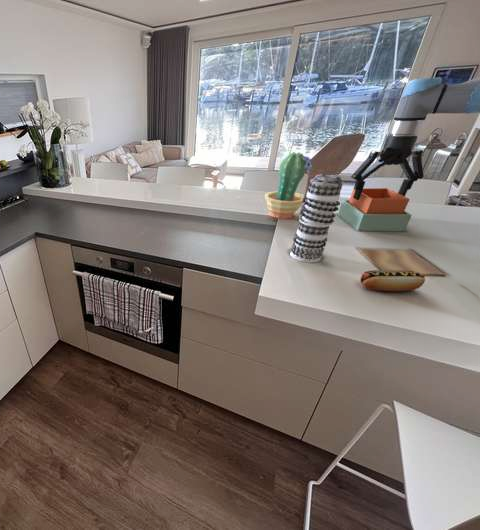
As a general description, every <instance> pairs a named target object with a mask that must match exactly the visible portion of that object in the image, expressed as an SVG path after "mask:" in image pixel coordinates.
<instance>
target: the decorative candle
mask: <svg viewBox="0 0 480 530" xmlns="http://www.w3.org/2000/svg"><path fill="white" fill-rule="evenodd" d="M309 182H310V183H309V187H308V190H307V192H306V194H303V195H304V198H303V200H302V202H304V203H303V204H302V205H301V206H300V211H299V214H301V215H299V218H298V221H299V225H298V228H297V231H296V232H295V234H294V237H293V242H292V244H291V248H290V253H289V255H290V257H291V258H293V259H294V260H296V261H298V262H299V261H300V262H304V263H310V264H311V263H312V264H313V263H318V262H320V261H321V260H322V257H323V254H324V252H325V247H326V245H327V242H328V233H329V229H330V227H331V226H332V225H333V223H334V222H335V219H334V218H335V217H336V214H335V213H334V212H338V211H339V207H338V206H341V201H339V200H340V197H341V191H342V189H343V185H345V184H346V183H345V181H343V180H342V177H341V176H339V175H337V174H331V173H322V174H317V175H316V176H314V177H313V178H312V179H310V180H309ZM305 199H306V200H305Z"/></svg>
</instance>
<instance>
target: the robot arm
mask: <svg viewBox="0 0 480 530" xmlns="http://www.w3.org/2000/svg"><path fill="white" fill-rule="evenodd" d="M442 81H443V78H442V77H440V76H439V77H437V76H436V77H423V78H414V79H411V80H410V81H408V82H407V84H406V86H405V87H404V90H403V93H402V95H401V97H400V99H399V103H398V106H397V108H396V111H395V114H394V117H393V120H392V121H391V125H390V128H389V131H388V135H387V136H386V138H385V141H384V144H383V148H382V150H381V151H377V150H371V151H370V152H369V154H368V156H367V158H366V159H365V160H364V161H363V162H362V163H361V165H359V167H358V168H357V169H356V170H355V171H354V173H353V174H352V175H351V179H353V180H355V183H354V186H353V189H355V193H354V196H353V198H355V199H356V200H359V198H360V195H361V193H362V190H363V189H364V187H365V184H366V181H365V180H366V179H367V178H368V177H371V175H372V174H374V173H375V172H377V171H378V170H379V169H380V168H383V167H384V166H393V165H394V166H398V165H399V166H400V168H401V169H402V170H401V171H403V173H404V175H405V177H406V178H404V179H403V181H402V183H401V185H400V188H399V189H398V191H397V193H398V194H400V195H402V196H405V197H406V195H407V192H408V191H409V190H411V189H412V186H413V184H414V183H415V182H417V181H418V180H421V179H423V178H424V177H425V176H424V168H423V161H422V156H423V153H424V151H423V150H422V149H419V148H415V149H414V150H413V148H414V147H415V145H416V142H417V140H418V138H419V136H418V135H419V134H421V131H422V128H423V126H424V123H425V121H426V119H427V116H428V114H429V115H430V114H432V115H434V114H467V115H470V114H478V113H479V114H480V76H478V77H475V78H472V79H470V80H467V81H463V82H461V83H452V84H442ZM409 157H411V162H412V167H411V166H410V163H409V160H408V158H409ZM378 158H379V159H378ZM412 168H413V169H412Z"/></svg>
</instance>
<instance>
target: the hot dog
mask: <svg viewBox="0 0 480 530" xmlns="http://www.w3.org/2000/svg"><path fill="white" fill-rule="evenodd" d="M425 276H426V275H424V274H422V273H419V272H414V271H407V270H379V269H376V270H375V269H374V270H373V269H372V270H364V271H363V272H362V274H361V275H360V277H359V282H360V284H361V286H362V287H363V288H366V289H368V290H369V291H378V292H408V291H409V292H410V291H415V290H418V289H419V288H421V287H422V286H423V285H424V283H425V282H426V277H425Z"/></svg>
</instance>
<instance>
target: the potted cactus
mask: <svg viewBox="0 0 480 530" xmlns="http://www.w3.org/2000/svg"><path fill="white" fill-rule="evenodd" d="M312 168H313V164H312V161H311V158H310V157H309V156H306V155H304V153H302V152H300V151H299V152H296V151H293V152H289V153H288V154H287V155H286V156H285V157H284V158H283V159H282V160H281V161H280V163H279V168H278V186H277V190H276V191H268V192H266V193H264V201H265V202H266V206H267V208H268V210H269V212H268V213H269V214H268V215H269V216H270V217H272V218H275V219H283V220H285V219H291V218H293V217H294V214H295V213H296V212H297V211H298V210H299V209H300V208H301V207H302V204H304V202H302V200H303V198H304V196H305V195H304V194H301V193H299V192H296V191H297V189H298V186H299V184H300V182H301V180H303V178H304V177H305V174H307V175H308V174H309V173H310V172H311V171H312ZM306 170H307V172H306ZM305 200H306V199H305Z"/></svg>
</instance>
